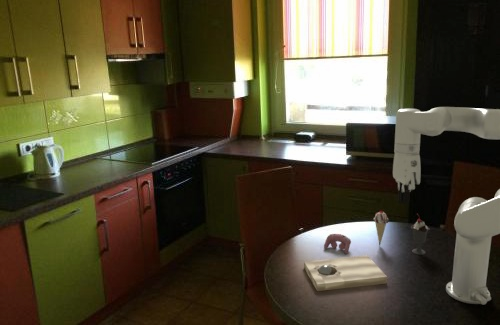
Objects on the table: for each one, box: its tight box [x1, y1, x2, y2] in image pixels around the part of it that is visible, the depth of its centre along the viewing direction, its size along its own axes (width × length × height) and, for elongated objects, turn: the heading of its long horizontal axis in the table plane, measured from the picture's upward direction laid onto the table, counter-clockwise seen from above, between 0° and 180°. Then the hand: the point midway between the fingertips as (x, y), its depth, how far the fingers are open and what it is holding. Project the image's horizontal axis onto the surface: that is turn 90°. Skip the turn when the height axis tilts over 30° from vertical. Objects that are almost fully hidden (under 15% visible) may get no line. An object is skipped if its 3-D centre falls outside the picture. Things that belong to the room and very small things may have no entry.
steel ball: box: [319, 265, 333, 276], centre depth 151 cm, size 4×4×4 cm
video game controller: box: [323, 233, 352, 255], centre depth 173 cm, size 10×5×7 cm, turn 59°
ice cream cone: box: [373, 210, 389, 247], centre depth 172 cm, size 6×6×15 cm
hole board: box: [303, 254, 388, 292], centre depth 153 cm, size 16×24×2 cm, turn 99°
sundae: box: [410, 213, 431, 256], centre depth 166 cm, size 7×7×15 cm
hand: (403, 202), depth 144 cm, fingers closed
